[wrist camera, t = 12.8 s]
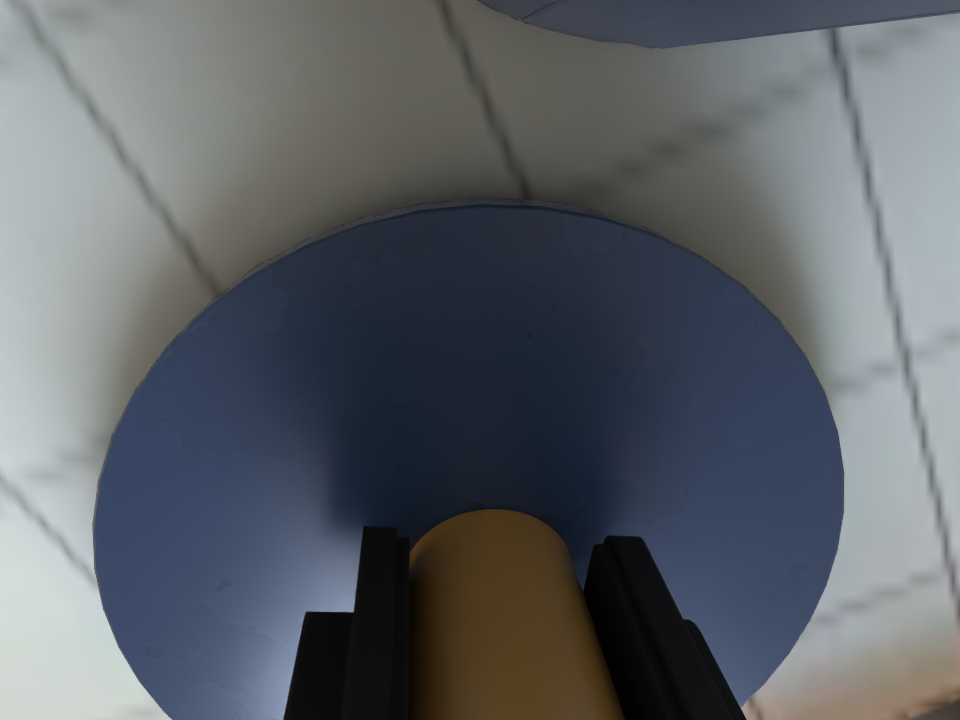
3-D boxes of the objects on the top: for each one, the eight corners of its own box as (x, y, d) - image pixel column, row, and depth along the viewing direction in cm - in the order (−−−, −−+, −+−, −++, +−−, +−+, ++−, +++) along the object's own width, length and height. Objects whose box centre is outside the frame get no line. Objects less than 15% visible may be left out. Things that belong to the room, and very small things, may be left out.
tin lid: (242, 814, 15) (138, 1266, 9) (-9, 267, 10) (-584, 525, 4) (793, 706, 15) (1020, 1077, 10) (829, 127, 10) (1354, 188, 5)
